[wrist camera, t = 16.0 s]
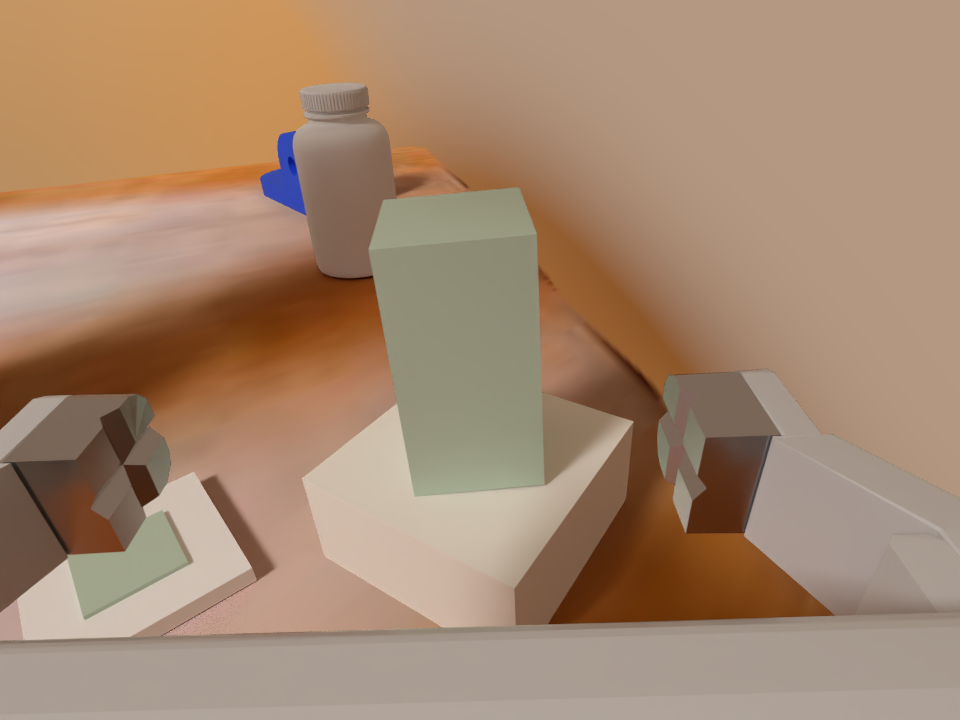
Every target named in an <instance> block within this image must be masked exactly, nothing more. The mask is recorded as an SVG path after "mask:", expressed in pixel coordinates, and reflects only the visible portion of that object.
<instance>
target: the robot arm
mask: <svg viewBox="0 0 960 720" xmlns="http://www.w3.org/2000/svg"><path fill="white" fill-rule="evenodd" d="M663 400H664V402H665V404H666V406H667V409H668V411H667V413H666V414H665V415H664V416H663V417H662V418H661V419H660V420H659V424H658V433H657V448H658V457H659V462H660V467H661V469H662V472H663V475H664V478H665V479H666V480H668V481H669V482H670V483H672V484H673V485H674V486H675V489H674V495H673V502H674V504H675V507H676V510H677V512H678V515H679V517H680V520H681V523H682V525H683V528H684V530H685V533H686V534H692V533H745V534H744V536H745V537H746V538H747V539H748V540H749V541H750V542H752V543H753V544H754V545H755V546H756V547H757V548H758V549H760V550H761V551H762V552H763V553H764V554H765V555H766V556H768V557H769V558H770V559H771V560H772V561H773V562H774V563H776V564H777V565H778V566H779V567H780V568H781V569H782V570H784V571H785V572H786V573H787V574H788V575H789V576H790V577H792V578H793V579H794V580H795V581H796V582H797V583H798V584H800V585H801V586H802V587H803V588H804V589H805V590H806V591H808V592H809V593H810V594H811V595H812V596H813V597H814V598H816V599H817V600H818V601H819V602H820V603H821V604H822V605H824V606H825V607H826V608H827V609H828V610H829V611H830V612H832V613H833V614H834V615H835V616H814V617H780V618H747V619H715V620H683V621H650V622H616V623H581V624H546V625H511V626H477V627H442V628H408V629H375V630H342V631H309V632H275V633H242V634H209V635H176V636H142V637H109V638H75V639H42V640H9V641H0V720H960V498H958V497H956V496H954V495H952V494H950V493H949V492H946V491H944V490H942V489H940V488H938V487H937V486H935V485H933V484H931V483H929V482H927V481H924V480H923V479H921V478H919V477H917V476H915V475H913V474H911V473H908V472H907V471H905V470H903V469H901V468H898V467H897V466H895V465H893V464H891V463H889V462H887V461H884V460H883V459H881V458H879V457H877V456H875V455H872V454H871V453H869V452H867V451H865V450H863V449H861V448H859V447H857V446H855V445H853V444H851V443H849V442H847V441H845V440H843V439H841V438H839V437H837V436H835V435H833V434H832V435H831V434H830V435H822V434H821V433H820V431H819V430H818V429H817V428H816V426H815V425H814V424H813V422H812V421H811V419H810V418H809V417H808V416H807V414H806V413H805V412H804V410H803V409H802V408H801V406H800V405H799V404H798V403H797V401H796V400H795V399H794V398H793V396H792V395H791V393H790V392H789V391H788V390H787V388H786V387H785V386H784V384H783V383H782V382H781V380H780V379H779V378H778V376H777V375H776V374H775V373H774V372H773V371H771V370H769V369H758V370H743V371H734V372H721V373H703V374H702V373H700V374H681V375H668V377H667V380H666V382H665V385H664V391H663ZM154 416H155V415H154V413H153V411H152V409H151V407H150V404H149V402H148V400H147V399H146V398H144V397H142V396H140V395H138V394H100V395H74V396H73V395H57V396H43V397H39V398H35V399H33V400H31V401H30V402H29V403H28V404H27V405H26V406H25V407H24V408H23V409H22V410H21V411H20V412H19V413H18V414H17V415H16V416H14V417H13V418H12V419H11V420H10V421H9V422H8V423H7V424H6V425H5V426H4V427H3V428H2V429H1V430H0V612H1V611H3V610H4V609H5V608H6V607H8V606H9V605H10V604H11V603H13V602H14V601H15V600H16V599H18V598H19V597H20V596H21V595H23V594H24V593H25V592H26V591H28V590H29V589H30V588H31V587H33V586H34V585H35V584H36V583H38V582H39V581H40V580H41V579H43V578H44V577H45V576H46V575H48V574H49V573H50V572H51V571H53V570H54V569H55V568H56V567H58V566H59V565H60V564H61V563H63V562H64V561H65V560H66V559H68V555H77V554H93V553H110V552H125V551H126V549H127V548H128V546H129V545H130V543H131V541H132V540H133V538H134V536H135V535H136V533H137V532H138V530H139V528H140V527H141V525H142V524H143V522H144V520H145V519H146V515H145V512H144V508H143V507H144V506H145V505H146V504H148V503H149V502H151V501H152V500H154V499H155V498H157V497H158V496H160V494H161V492H162V490H163V489H164V487H165V485H166V483H167V482H168V477H169V471H170V466H171V461H170V453H169V449H168V446H167V444H166V441H165V439H164V437H163V436H161V435H160V434H159V433H157V432H156V431H155V430H153V429H152V428H151V427H150V425H151V423H152V421H153V419H154Z"/></svg>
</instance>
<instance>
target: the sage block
mask: <svg viewBox="0 0 960 720" xmlns="http://www.w3.org/2000/svg"><path fill="white" fill-rule="evenodd" d="M368 251H369V256H370V261H371V267H372V272H373V277H374V283H375V288H376V294H377V299H378V304H379V310H380V315H381V320H382V326H383V331H384V336H385V342H386V347H387V352H388V358H389V363H390V368H391V374H392V379H393V384H394V390H395V395H396V400H397V406H398V411H399V416H400V422H401V427H402V432H403V438H404V443H405V449H406V454H407V459H408V465H409V470H410V475H411V481H412V486H413V491H414V497H417V496H427V495H438V494H448V493H459V492H470V491H480V490H491V489H502V488H512V487H523V486H534V485H544V484H545V481H544V448H543V415H542V382H541V349H540V316H539V283H538V250H537V233H536V230H535V228H534V225H533V222H532V220H531V217H530V215H529V212H528V209H527V207H526V204H525V202H524V199H523V196H522V194H521V191H520V188H519V187H518V188H506V189H496V190H486V191H474V192H464V193H453V194H442V195H432V196H421V197H410V198H399V199H389V200H383V202H382V206H381V209H380V213H379V216H378V219H377V223H376V226H375V229H374V233H373V236H372V240H371V243H370V246H369V250H368Z"/></svg>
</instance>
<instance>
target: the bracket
mask: <svg viewBox="0 0 960 720" xmlns="http://www.w3.org/2000/svg"><path fill="white" fill-rule="evenodd" d="M295 132H296V131H293V132H288V133H283V134H281V135H280V136H279V139H278V157H279V162H280V166H281V169H279V170H275V171H271V172H269V173H266V174H264V175H263V176H261V178H260V180H261V184H262V188H263V192H264V195H265V196H267V197H269V198H271V199H273V200H275V201H277V202H279V203H281V204H283V205H285V206H288V207H290V208H292V209H294V210H296V211H298V212H300V213H302V214H304V215H306V211H305V206H304V201H303V196H302V191H301V186H300V181H299V177H298V172H297V167H296V162H295V157H294V152H293V137H294V134H295Z"/></svg>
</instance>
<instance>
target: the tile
mask: <svg viewBox="0 0 960 720" xmlns="http://www.w3.org/2000/svg"><path fill="white" fill-rule="evenodd" d="M143 508H144V512H145V515H146V519H145V520H144V522H143V524H142V525H141V527H140V528H139V530H138V532H137V533H136V535H135V536H134V538H133V540H132V541H131V543H130V545H129V546H128V548H127V549H126V551H125V552H110V553H93V554H77V555H68V559H66V560H65V561H64V562H63V563H61V564H60V565H59V566H58V567H56V568H55V569H54V570H53V571H51V572H50V573H49V574H48V575H46V576H45V577H44V578H43V579H41V580H40V581H39V582H38V583H36V584H35V585H34V586H33V587H31V588H30V589H29V590H28V591H26V592H25V593H24V594H23V595H21V596H20V597H19V598H18V599H17V602H18V608H19V614H20V620H21V626H22V632H23V638H24V640H42V639H75V638H109V637H142V636H161V635H163V634H165V633H167V632H168V631H170V630H172V629H174V628H175V627H177V626H179V625H180V624H182V623H184V622H186V621H187V620H189V619H191V618H193V617H194V616H196V615H198V614H199V613H201V612H203V611H205V610H206V609H208V608H210V607H212V606H213V605H215V604H217V603H218V602H220V601H222V600H224V599H225V598H227V597H229V596H231V595H232V594H234V593H236V592H237V591H239V590H241V589H243V588H244V587H246V586H248V585H250V584H251V583H253V582H255V581H256V580H257V579H256V576H255V574H254V571H253V569H252V567H251V565H250V563H249V562H248V560H247V558H246V557H245V555H244V554H243V552H242V550H241V549H240V547H239V545H238V544H237V542H236V540H235V539H234V537H233V535H232V534H231V532H230V530H229V529H228V527H227V526H226V524H225V522H224V521H223V519H222V517H221V516H220V514H219V512H218V511H217V509H216V507H215V506H214V504H213V503H212V501H211V499H210V498H209V496H208V494H207V493H206V491H205V489H204V488H203V486H202V484H201V483H200V481H199V479H198V478H197V476H196V475H195V473H194V472H192V473H190V474H188V475H186V476H184V477H181V478H179V479H177V480H175V481H173V482H170V483H168V484H166V485H165V487H164V489H163V490H162V492H161V494H160V496H158V497H157V498H155V499H154V500H152V501H151V502H149V503H148V504H146V505H145V506H144V507H143Z"/></svg>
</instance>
